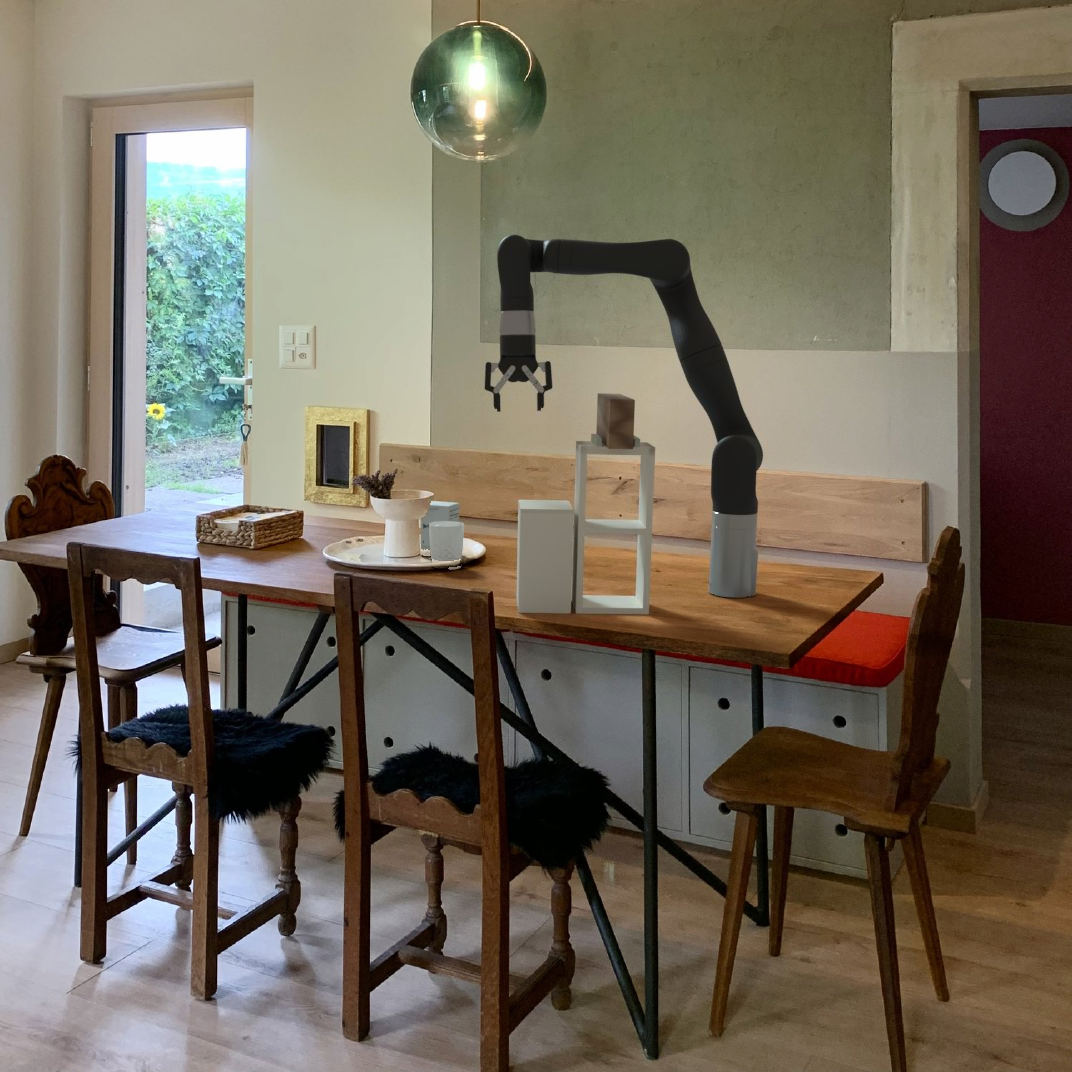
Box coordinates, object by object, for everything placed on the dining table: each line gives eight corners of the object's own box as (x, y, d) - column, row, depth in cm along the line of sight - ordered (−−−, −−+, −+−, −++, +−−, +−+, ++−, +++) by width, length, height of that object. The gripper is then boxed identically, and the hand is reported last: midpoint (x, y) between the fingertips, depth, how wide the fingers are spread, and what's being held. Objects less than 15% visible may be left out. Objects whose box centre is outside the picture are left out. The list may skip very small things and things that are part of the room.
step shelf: (639, 599, 242) (646, 434, 236) (648, 614, 229) (655, 439, 223) (516, 598, 240) (519, 431, 235) (518, 612, 228) (522, 436, 222)
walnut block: (618, 438, 243) (619, 393, 241) (633, 449, 219) (634, 399, 218) (596, 437, 242) (597, 393, 241) (608, 448, 219) (610, 399, 217)
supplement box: (419, 556, 284) (419, 503, 281) (431, 551, 291) (431, 500, 288) (448, 559, 281) (449, 505, 279) (459, 553, 288) (460, 501, 286)
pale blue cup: (432, 571, 266) (432, 526, 265) (425, 564, 274) (426, 521, 272) (466, 570, 269) (467, 526, 267) (459, 563, 276) (460, 520, 274)
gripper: (550, 334, 255) (551, 410, 257) (483, 334, 254) (484, 411, 256) (552, 332, 247) (553, 411, 249) (483, 333, 247) (485, 412, 249)
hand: (518, 411), depth 253 cm, fingers open, 8 cm apart
